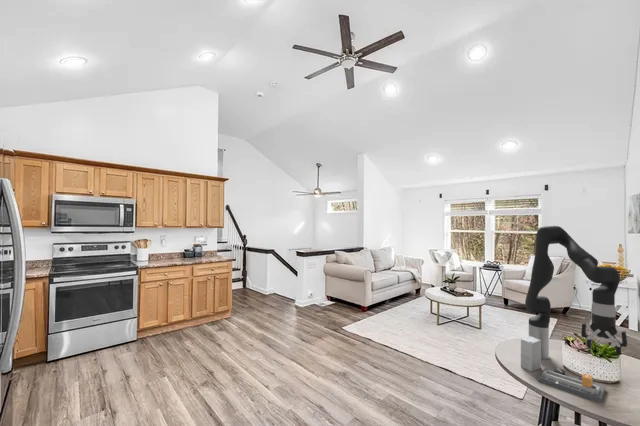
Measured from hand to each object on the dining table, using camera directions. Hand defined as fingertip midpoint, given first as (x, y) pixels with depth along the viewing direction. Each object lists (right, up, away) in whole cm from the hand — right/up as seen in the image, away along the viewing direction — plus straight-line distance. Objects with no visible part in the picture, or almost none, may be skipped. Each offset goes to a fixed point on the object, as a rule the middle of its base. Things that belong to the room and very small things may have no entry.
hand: (603, 351), depth 130 cm
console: (-5, -21, +11) cm, 24 cm away
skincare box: (-12, -21, +27) cm, 36 cm away
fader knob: (-3, -19, +5) cm, 19 cm away
